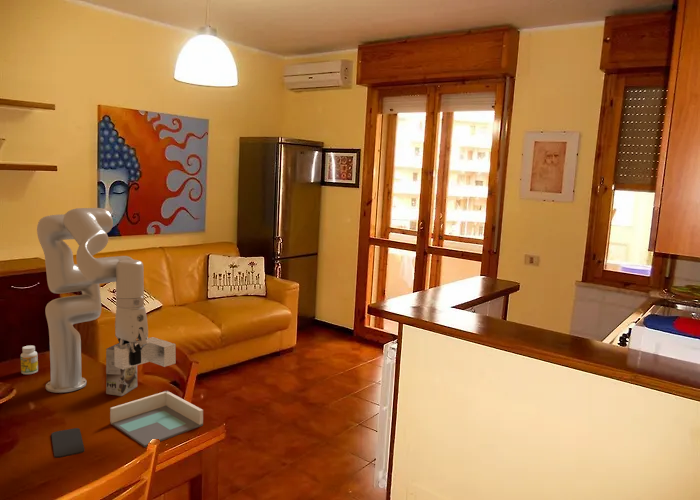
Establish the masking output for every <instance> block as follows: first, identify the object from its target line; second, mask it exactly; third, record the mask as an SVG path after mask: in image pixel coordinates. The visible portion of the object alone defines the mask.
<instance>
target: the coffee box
mask: <svg viewBox="0 0 700 500" xmlns="http://www.w3.org/2000/svg"><path fill="white" fill-rule="evenodd" d="M130 343H131V342H130ZM119 345H120V343H119V342H117V343H116V344H114V345H112V346H109V347H107V348H105V351H106V352H105V355H106V357H105V361H106V362H105V373H106V374H105V378H106V380H105V381H106V383H105V385H106V386H105V387H106V388H105V389H106V390H105V395H112V396H118V397H123V396H125V395H126V394H128V393H129V392H131V391H132V390H134V389H136V388H138V365H137V366H133V367H130V368H127V369H123V370H122V369H120V368H117V367H115V358H114V347H115V346H119Z"/></svg>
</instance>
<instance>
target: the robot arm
mask: <svg viewBox="0 0 700 500" xmlns="http://www.w3.org/2000/svg"><path fill="white" fill-rule="evenodd" d="M113 225H114V220H113V216H112V214H111V213H110V211H108V210H107V209H105V208H101V207H77V208H73V209H70V210H68V211H67V212H65V214H63V213H62V214H50V215H46V216H43V217H42V218H40V219H39V220H38V223H37V225H36V226H37V227H36V234H37V238H38V242H39V244H40V246H41V249H42V251H43V255H44V262H45V263H44V264H45V270H46V281H47V287H48V290H49V291H50V292H51V293H53V294H58V295H59V294H67V293H75V292H81V294H80V295H79V294H77V295H71V296H69V295H68V296H64V297H58V298H55V299H52V300H51V301H48V303H47V304H46V306H45V312H44V313H45V318H46V321H47V326H48V327H47V328H48V336H49V337H48V338H49V361H50V367H49V368H50V381H48V382H47V383H46V384H45V389H46V391H47V392H49V393H50V392H51V393H55V394H57V393H59V394H63V393H70V392H71V393H72V392H75V391H78V390H81V389H83V388H85V387H86V386H87V379H86V378H85V377H82V340H81V337H82V336H81V334H80V332H79V331H78V330H77V329H76V328H75V327H74V325H75V324H80V323H85V322H91V321H94V320H95V321H96V320H97V319H99V318H100V317H101V314H102V298H101V289H100V288H101V287H100V285H101V284H107V283H115V295H116V297H115V300H116V301H115V302H116V303H115V306H116V309H115V316H114V317H115V318H114V319H115V320H114V329H115V331H114V332H115V333H114V334H115V337H116V339H117V341H118V343H120V345H123V344H127V343H130V342H131V349H132V352H130V364H131V365H132V366H133V365H136V364H140V363H141V351H142V348H143V347H144V346H145V345H146V344H147V342H146V340H147V339H148V338H149V326H148V325H149V324H148V317H147V316H148V315H147V311H146V308H145V286H144V285H145V283H144V282H145V281H144V278H145V277H144V276H145V275H144V274H145V273H144V271H145V269H144V263H143V261H141V260H138V259H133V258H132V257H131V256H128V255H120V256H119V255H117V256H108V257H107V256H105V257H104V256H103V257H94V255H96V254H98V253H100V252H102V251H103V250H104V249H105V248H106V246H107V245H108V243H109V236H108V233H110V231H112V228H113V227H114V226H113ZM64 240H74V241H75V242H76V243H77V245H78V247H77V251H76V254H75V256H76V259H75V260H76V263H75V262H74V253H73V250H72V248H71V247H70V246H69V245H68V244H67V243H66V242H65V241H64ZM135 343H138V344H137V345H136V346H135ZM140 365H141V364H140Z"/></svg>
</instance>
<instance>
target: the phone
mask: <svg viewBox="0 0 700 500" xmlns="http://www.w3.org/2000/svg"><path fill="white" fill-rule="evenodd" d="M50 435H51V444H52V452H53V457H54V458H56V459H57V458H59V459H60V458H64V457H68V456H73V455H79V454H82V453H84V452H85V446H84V442H83V437H82V433H81V429H80V428H78V427H74V428H68V429H63V430H57V431H54V432H51V434H50Z"/></svg>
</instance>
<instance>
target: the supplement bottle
mask: <svg viewBox="0 0 700 500" xmlns="http://www.w3.org/2000/svg"><path fill="white" fill-rule="evenodd" d="M21 349H22V350H21V351H22V353H21V354H20V373H21V374H23V375H32V374H33V375H34V374H35V373H38V372H39V361H38V360H39V359H38V358H39V357H38V352H37V351H36V346H35V345H31V344H30V345H26V346H22V348H21Z"/></svg>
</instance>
